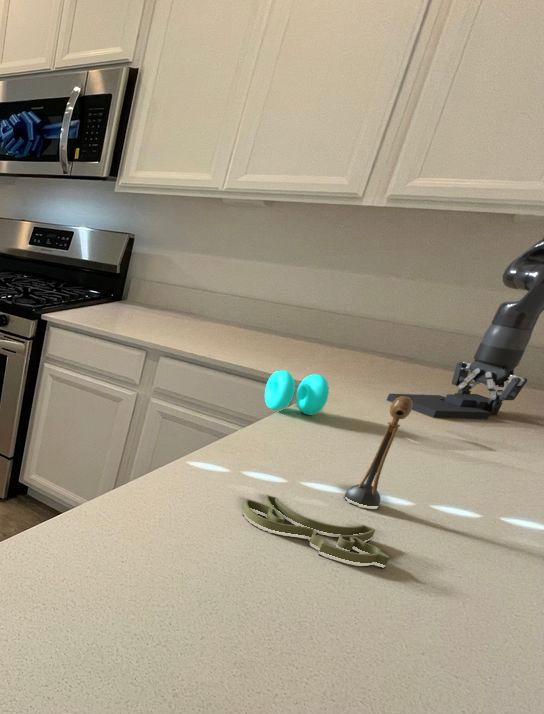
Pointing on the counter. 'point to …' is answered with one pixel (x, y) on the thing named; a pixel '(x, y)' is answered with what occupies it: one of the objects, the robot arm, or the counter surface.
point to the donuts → (308, 393)
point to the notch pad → (441, 407)
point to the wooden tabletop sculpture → (380, 456)
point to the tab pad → (469, 401)
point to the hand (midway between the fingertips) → (473, 408)
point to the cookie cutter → (344, 541)
